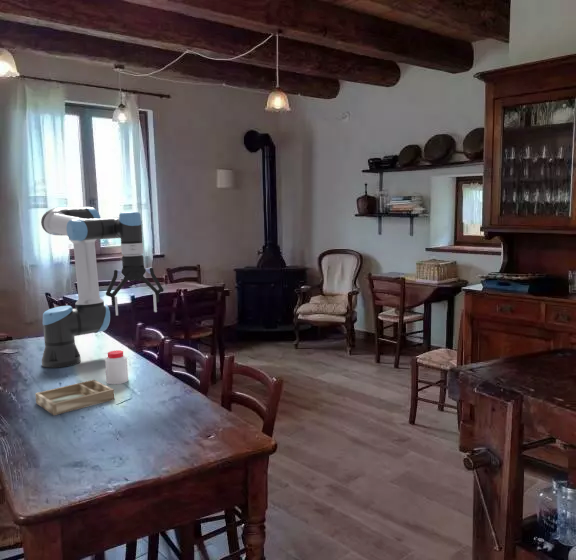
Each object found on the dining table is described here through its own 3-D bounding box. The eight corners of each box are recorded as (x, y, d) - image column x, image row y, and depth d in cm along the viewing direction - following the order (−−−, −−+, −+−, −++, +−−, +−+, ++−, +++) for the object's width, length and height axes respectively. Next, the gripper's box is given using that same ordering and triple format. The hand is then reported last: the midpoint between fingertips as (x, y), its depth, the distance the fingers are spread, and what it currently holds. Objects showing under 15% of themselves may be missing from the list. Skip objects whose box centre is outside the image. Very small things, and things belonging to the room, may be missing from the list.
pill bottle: (101, 382, 208) (99, 353, 207) (117, 377, 215) (115, 348, 213) (117, 385, 205) (115, 355, 203) (132, 379, 211) (130, 350, 210)
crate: (36, 403, 188) (35, 393, 187) (94, 389, 201) (93, 379, 200) (53, 415, 176) (52, 404, 175) (114, 399, 189) (113, 389, 189)
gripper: (96, 257, 196) (100, 318, 199) (169, 253, 204) (172, 311, 207) (96, 256, 204) (100, 314, 206) (166, 252, 211) (169, 308, 214)
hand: (136, 313), depth 207 cm, fingers open, 13 cm apart
